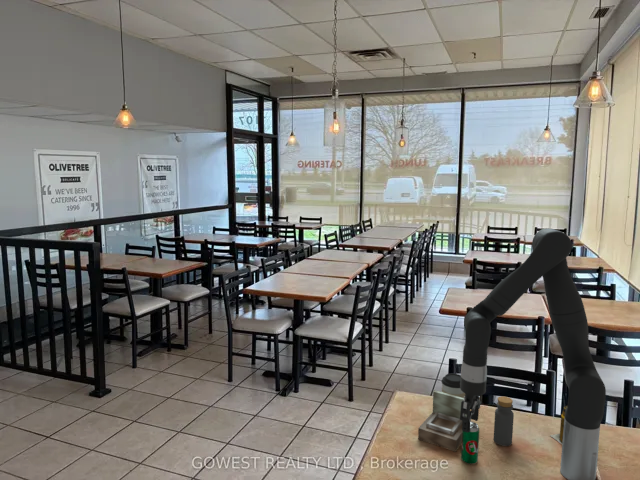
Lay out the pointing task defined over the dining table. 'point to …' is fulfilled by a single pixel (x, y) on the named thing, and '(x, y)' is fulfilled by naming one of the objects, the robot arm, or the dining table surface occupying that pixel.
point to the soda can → (470, 444)
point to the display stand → (443, 422)
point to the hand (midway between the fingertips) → (470, 425)
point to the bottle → (503, 421)
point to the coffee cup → (452, 385)
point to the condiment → (560, 436)
